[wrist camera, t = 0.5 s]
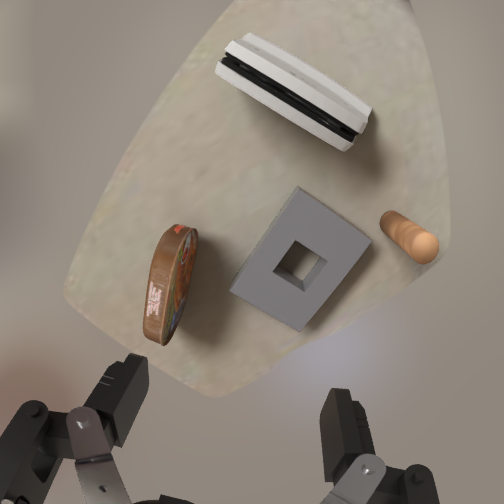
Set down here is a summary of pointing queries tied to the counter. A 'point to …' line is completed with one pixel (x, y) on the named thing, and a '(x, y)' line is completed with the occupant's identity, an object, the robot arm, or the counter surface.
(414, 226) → the peg
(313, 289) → the hole block
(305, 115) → the hinge
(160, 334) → the tin
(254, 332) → the counter surface
